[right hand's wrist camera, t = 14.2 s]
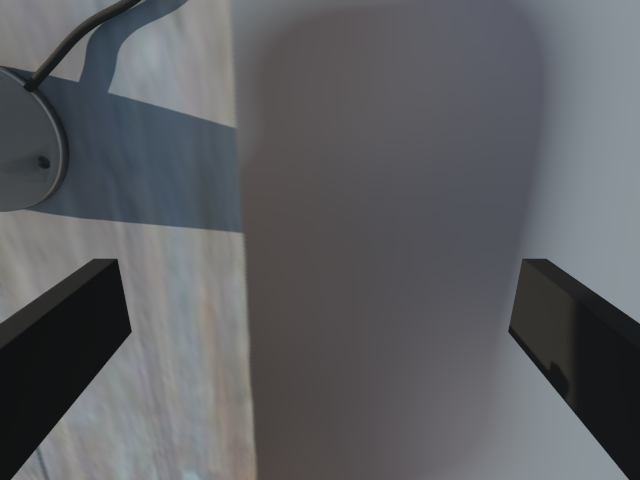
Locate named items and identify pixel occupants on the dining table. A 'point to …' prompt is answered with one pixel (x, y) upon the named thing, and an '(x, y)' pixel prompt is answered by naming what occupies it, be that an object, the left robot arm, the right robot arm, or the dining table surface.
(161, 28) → the dining table surface
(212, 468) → the dining table surface
